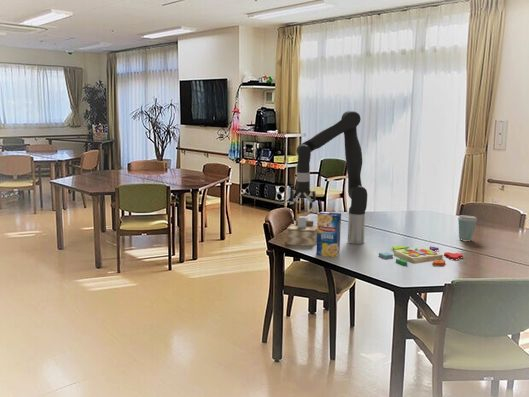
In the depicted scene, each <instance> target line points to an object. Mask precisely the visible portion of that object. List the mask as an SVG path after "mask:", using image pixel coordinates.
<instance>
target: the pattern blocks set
mask: <svg viewBox="0 0 529 397" xmlns="http://www.w3.org/2000/svg"><path fill="white" fill-rule="evenodd" d="M391 250H392V251H393V254H392V253H390V252H388V251H384V252H383V251H382V252H378V257H380V258H382V259H384V260H387V259H393V258H394V257H396V259H395V263H397V264H399V265H401V266H405V267H408V262H409V263H413V264H421V263H422V264H423V263H427V262H430V260H433V261H432V263H431V264H432V265H440V266H439V267H444V266H443V265H445V264H446V260H445V259H443V260H442V259H441V258H443V257H444V256H446V257H445V258H448V257H449V258H448V259H449V260H450V259H453V260H452V261H457V260H456V259H458V258H461V257H464V255H463V254H462V253H458V252H456V253H455V252H443V253H444V254H443V253H439V252H438V251H439V247H437V246H436V247H435V246H429V248H427V247H423V246H422V247H411V248H409V246H405V245H393V246H392V249H391ZM435 250H438V251H435ZM393 256H394V257H393ZM398 258H399V259H398ZM435 259H438V260H435ZM461 259H462V258H461ZM458 260H459V259H458ZM426 261H427V262H426Z"/></svg>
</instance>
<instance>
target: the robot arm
mask: <svg viewBox="0 0 529 397" xmlns="http://www.w3.org/2000/svg"><path fill="white" fill-rule="evenodd" d="M361 118H362V117H361V116H360V114H359V113H358V112H356V111H353V110H346V111H345V112H344V113H342V115H341V119H340V120H339V121H338V122H336V123H334V124H333V125H332V126H329V127H327V128H325V129H324V130H321V131H320V132H318V133H317V134H315V135H314V136H313V137H311V138H310V139H307V140H306V141H304V142H302V143H301V144H299V145H298V146H297V148H296V154H297V155H298V157H297V158H298V159H297V160H298V161H297V163H296V187H295V188H296V189H295V190H294V189H291V190H290V198H289V200H290V201H291V202H293V208H294V209H297V201H298V199H306V200H307V201H308V202H309V206H308V207H309V208H308V209H309V210H311V209H313V203H315V202H316V201H317V196H316V195H317V194H316V190H311V174H310V166H311V165H310V163H311V156H312V154H311V153H312V152H314V151H315V150H318V149H320V148H322V147H323V146H325V145H326V144H328V143H329V142H330V141H332V140H333V139H335V138H337V137H338V136H340V135H341V134H343V137H344V151H345V152H344V153H345V154H344V155H345V163H346V172H347V180H348V181H347V194H348V196H349V198H350V207H349V208H348V221H347V222H348V223H347V243H349V244H353V245H363V244H364V243H365V229H366V226H365V223H366V220H365V219H366V210H367V206H368V190H367V188H365V187H364V186H363V185H362V178H361V175H362V174H361V172H362V168H363V152H362V147H361V144H360V141H359V138H358V134H357V133H358V132H357V131H358V129H357V127H358V126H359V124H360V123H361ZM295 194H296V197H295V198H294V195H295ZM310 194H311V195H312V198H311V196H310Z"/></svg>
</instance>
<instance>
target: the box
mask: <svg viewBox="0 0 529 397" xmlns="http://www.w3.org/2000/svg"><path fill="white" fill-rule="evenodd" d="M285 244H286V245H294V246H295V245H296V246H304V245H307V247H315V246H316V245H317V230H316V231H315V232H309V231H297V230H287V229H286V243H285ZM315 244H316V245H315Z"/></svg>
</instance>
